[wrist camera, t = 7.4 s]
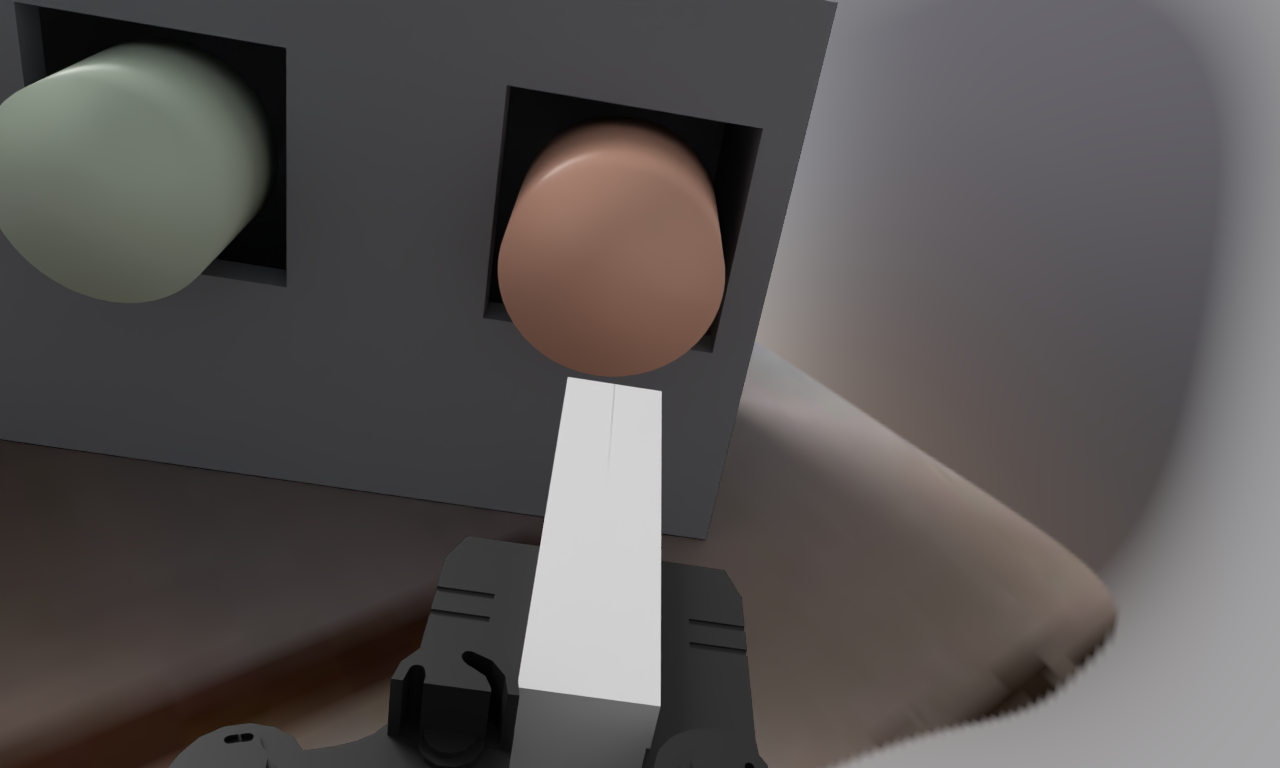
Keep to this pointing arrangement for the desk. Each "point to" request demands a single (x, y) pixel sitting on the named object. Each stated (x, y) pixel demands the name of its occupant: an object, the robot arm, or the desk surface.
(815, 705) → the desk surface
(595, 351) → the terracotta button
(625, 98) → the grey button box
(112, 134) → the sage button
